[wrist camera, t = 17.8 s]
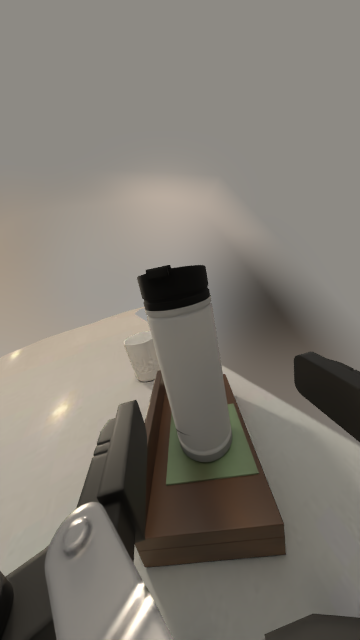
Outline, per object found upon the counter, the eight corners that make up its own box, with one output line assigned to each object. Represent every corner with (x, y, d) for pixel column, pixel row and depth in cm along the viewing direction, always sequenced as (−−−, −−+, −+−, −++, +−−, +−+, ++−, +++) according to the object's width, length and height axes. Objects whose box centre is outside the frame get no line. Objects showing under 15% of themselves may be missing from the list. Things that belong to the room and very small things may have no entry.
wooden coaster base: (227, 392, 34) (222, 359, 32) (286, 554, 15) (282, 497, 13) (165, 401, 35) (157, 370, 33) (144, 567, 16) (121, 516, 14)
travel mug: (172, 463, 20) (118, 275, 14) (186, 414, 26) (152, 269, 20) (232, 471, 18) (197, 258, 12) (232, 416, 24) (208, 257, 18)
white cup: (165, 362, 50) (156, 328, 47) (166, 378, 42) (156, 339, 39) (136, 369, 49) (126, 335, 47) (132, 387, 42) (120, 348, 39)
